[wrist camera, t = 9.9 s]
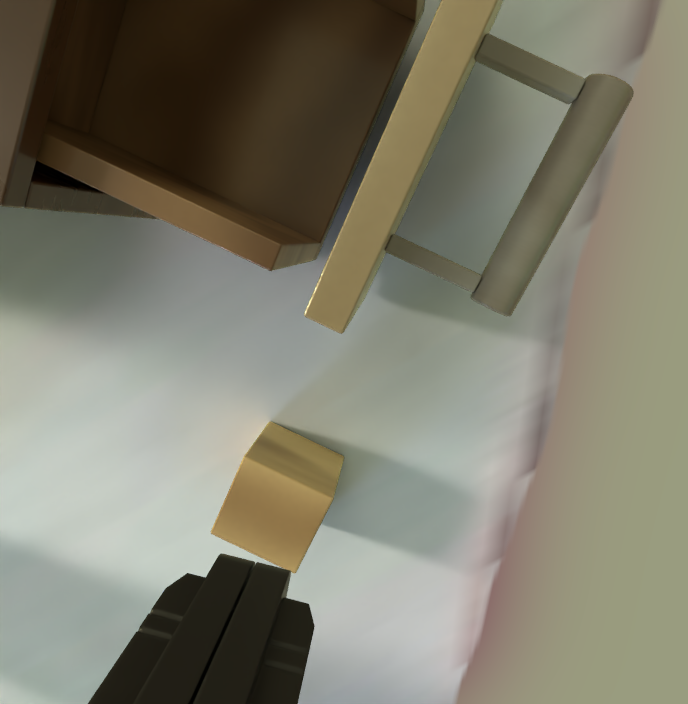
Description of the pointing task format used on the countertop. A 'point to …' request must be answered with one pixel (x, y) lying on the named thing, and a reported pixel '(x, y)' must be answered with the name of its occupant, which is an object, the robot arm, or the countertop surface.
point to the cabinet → (39, 111)
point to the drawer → (306, 130)
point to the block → (279, 497)
